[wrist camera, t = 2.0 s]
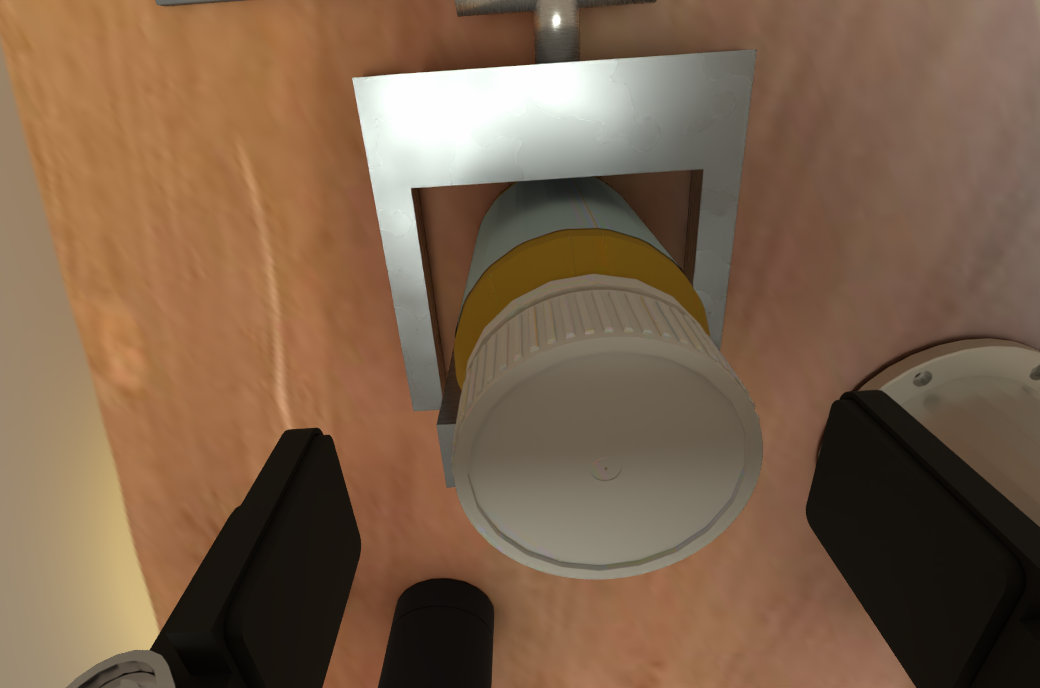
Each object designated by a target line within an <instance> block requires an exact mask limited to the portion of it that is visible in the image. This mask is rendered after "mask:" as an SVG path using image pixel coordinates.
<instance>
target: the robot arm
mask: <svg viewBox="0 0 1040 688" xmlns="http://www.w3.org/2000/svg"><path fill="white" fill-rule="evenodd" d="M806 516H807V520H808V523H809V525H810V527H811V529H812V530H813V532H814V533H815V535H816V536H817V538H818V539H819V541H820V542H821V544H822V545H823V547H824V548H825V550H826V551H827V553H828V554H829V556H830V557H831V559H832V560H833V562H834V563H835V565H836V566H837V568H838V569H839V571H840V572H841V574H842V576H843V577H844V579H845V580H846V582H847V583H848V585H849V586H850V588H851V589H852V591H853V592H854V594H855V595H856V597H857V598H858V600H859V601H860V603H861V604H862V606H863V607H864V609H865V610H866V612H867V613H868V615H869V616H870V618H871V619H872V621H873V623H874V624H875V626H876V627H877V629H878V630H879V632H880V633H881V635H882V636H883V638H884V639H885V641H886V642H887V644H888V645H889V647H890V648H891V650H892V651H893V653H894V654H895V656H896V657H897V659H898V660H899V662H900V663H901V665H902V667H903V668H904V670H905V671H906V673H907V674H908V676H909V677H910V679H911V680H912V682H913V683H914V685H915V686H916V688H1040V351H1038V350H1036V349H1034V348H1032V347H1029V346H1026V345H1023V344H1020V343H1017V342H1014V341H1008V340H1000V339H991V338H986V339H969V340H961V341H956V342H952V343H947V344H942V345H938V346H935V347H932V348H930V349H927V350H924V351H921V352H919V353H916V354H913V355H911V356H909V357H907V358H905V359H903V360H901V361H899V362H898V363H896V364H894V365H892V366H890V367H888V368H887V369H885V370H884V371H882V372H881V373H880V374H878V375H877V376H875V377H874V378H872V379H871V380H870V381H868V382H867V383H866V384H865V385H863V386H862V387H861V388H860V389H859V390H858V391H849V392H845V393H844V394H843V395H842V396H841V397H840V400H837V401H835V402H834V403H833V404H832V406H831V410H830V414H829V418H828V421H827V425H826V429H825V433H824V437H823V441H822V444H821V448H820V451H819V454H818V461H817V465H816V469H815V473H814V477H813V481H812V485H811V489H810V493H809V497H808V501H807V505H806ZM360 552H361V539H360V534H359V531H358V527H357V523H356V520H355V516H354V513H353V509H352V506H351V502H350V499H349V495H348V491H347V488H346V484H345V481H344V477H343V474H342V470H341V467H340V463H339V459H338V456H337V452H336V449H335V445H334V442H333V439H332V437H331V436H330V435H323V433H322V431H321V430H320V429H319V428H305V429H291V430H286V431H285V432H284V433H283V434H282V436H281V438H280V439H279V441H278V443H277V445H276V446H275V448H274V450H273V451H272V453H271V455H270V456H269V458H268V460H267V462H266V463H265V465H264V467H263V468H262V470H261V472H260V473H259V475H258V477H257V479H256V480H255V482H254V484H253V485H252V487H251V489H250V491H249V492H248V494H247V496H246V497H245V499H244V501H243V502H242V504H241V505H240V506H239V507H237V508H236V509H235V510H234V511H233V512H232V514H231V515H230V516H229V518H228V520H227V521H226V523H225V525H224V526H223V528H222V530H221V531H220V533H219V535H218V536H217V538H216V540H215V541H214V543H213V545H212V547H211V548H210V550H209V552H208V553H207V555H206V557H205V558H204V560H203V562H202V563H201V565H200V567H199V568H198V570H197V572H196V573H195V575H194V577H193V578H192V580H191V582H190V583H189V585H188V587H187V588H186V590H185V592H184V593H183V595H182V597H181V598H180V600H179V602H178V603H177V605H176V607H175V608H174V610H173V612H172V613H171V615H170V617H169V619H168V620H167V622H166V624H165V625H164V627H163V629H162V630H161V632H160V634H159V635H158V637H157V639H156V640H155V642H154V644H153V645H152V647H151V649H150V650H133V651H129V652H126V653H122V654H118V655H115V656H113V657H111V658H109V659H107V660H104V661H102V662H100V663H98V664H96V665H95V666H93V667H92V668H91V669H89V670H87V671H86V672H85V673H83V674H82V675H80V676H79V677H77V678H76V679H75V680H74V681H73V682H72V683H71V684H70V685H69V686H68V687H66V688H322V687H323V683H324V680H325V676H326V673H327V670H328V666H329V663H330V659H331V656H332V652H333V649H334V645H335V642H336V638H337V635H338V631H339V628H340V624H341V621H342V617H343V614H344V610H345V607H346V603H347V600H348V596H349V593H350V589H351V586H352V582H353V579H354V575H355V572H356V568H357V565H358V561H359V558H360Z"/></svg>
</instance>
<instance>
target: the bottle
mask: <svg viewBox="0 0 1040 688" xmlns="http://www.w3.org/2000/svg"><path fill="white" fill-rule="evenodd" d="M454 357H455V368H456V377H457V381H458V384H459V386H460V389H461V391H462V393H461V397H460V403H459V409H458V415H457V421H456V426H455V432H454V438H453V444H452V448H453V450H452V456H451V461H452V463H453V467H452V474H453V476H454V481H455V487H456V491H457V494H458V498H459V500H460V503H461V505H462V508H463V510H464V512H465V513H466V515H467V517H468V519H469V520H470V522H471V523H472V524H473V526H474V527H475V528H476V530H477V531H478V532H479V533H480V534H481V535H482V536H483V537H484V538H485V539H486V540H487V541H488V542H489V543H490V544H491V545H493V546H494V547H495V548H496V549H498V550H499V551H501V552H502V553H503V554H505V555H507V556H508V557H510V558H512V559H513V560H515V561H517V562H519V563H521V564H524V565H526V566H528V567H531V568H533V569H536V570H539V571H542V572H546V573H549V574H553V575H558V576H563V577H569V578H578V579H614V578H623V577H629V576H635V575H639V574H644V573H648V572H651V571H654V570H658V569H661V568H663V567H666V566H669V565H671V564H674V563H676V562H678V561H680V560H682V559H684V558H686V557H688V556H690V555H692V554H694V553H695V552H697V551H699V550H700V549H702V548H703V547H705V546H706V545H708V544H709V543H710V542H712V541H713V540H714V539H715V538H717V537H718V536H719V535H720V534H721V533H722V532H723V531H724V530H725V529H726V528H727V527H728V526H729V525H730V524H731V523H732V522H733V521H734V520H735V519H736V517H737V516H738V515H739V514H740V512H741V511H742V510H743V508H744V507H745V505H746V503H747V502H748V500H749V498H750V497H751V495H752V492H753V490H754V488H755V486H756V483H757V480H758V477H759V474H760V470H761V464H762V457H763V441H762V433H761V428H760V424H759V416H758V414H757V413H756V411H755V410H754V409H755V404H754V402H753V400H752V399H751V398H750V396H749V392H748V390H747V389H746V387H745V386H744V384H743V383H742V382H741V380H740V379H739V377H738V376H737V375H736V373H735V372H734V370H733V369H732V368H731V366H730V365H729V363H728V362H727V361H726V359H725V358H724V356H723V355H722V354H721V352H720V351H719V349H718V348H717V347H716V345H715V344H714V342H713V341H712V340H711V338H710V332H709V327H708V322H707V317H706V313H705V308H704V306H703V303H702V301H701V299H700V297H699V296H698V294H697V293H696V291H695V289H694V288H693V286H692V285H691V283H690V282H689V280H688V279H687V277H686V276H685V274H684V273H683V271H682V270H681V268H680V267H679V266H678V264H677V263H676V262H675V261H674V260H673V258H672V257H671V256H670V255H669V253H668V252H667V251H666V250H665V249H664V247H663V246H662V245H661V244H660V242H659V241H658V240H657V239H656V238H655V236H654V235H653V234H652V233H651V231H650V230H649V229H648V228H647V227H646V225H645V224H644V223H643V222H642V220H641V219H640V218H639V217H638V216H637V214H636V213H635V212H634V211H633V209H632V208H631V207H630V206H629V205H628V203H627V202H626V201H625V200H624V199H623V197H622V196H621V195H620V194H619V193H618V192H616V191H615V190H614V189H613V188H611V187H610V186H609V185H607V184H606V183H605V182H603V181H602V180H601V179H599V178H597V177H595V176H590V177H574V178H559V179H544V180H528V181H515V182H514V183H513V184H511V185H510V186H509V187H508V188H506V189H505V190H504V191H503V192H501V193H500V194H499V195H498V196H497V198H496V199H495V200H494V202H493V203H492V205H491V206H490V208H489V209H488V211H487V212H486V214H485V216H484V218H483V220H482V223H481V225H480V229H479V233H478V237H477V240H476V244H475V249H474V253H473V257H472V262H471V266H470V271H469V275H468V279H467V284H466V288H465V292H464V297H463V301H462V306H461V310H460V314H459V319H458V323H457V327H456V333H455V344H454Z"/></svg>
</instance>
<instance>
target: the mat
mask: <svg viewBox="0 0 1040 688" xmlns="http://www.w3.org/2000/svg"><path fill="white" fill-rule="evenodd" d="M155 1H156V4H157V5H161V6H175V5H188V4H202V3H216V2H229V1H243V0H155Z"/></svg>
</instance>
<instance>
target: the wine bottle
mask: <svg viewBox="0 0 1040 688" xmlns="http://www.w3.org/2000/svg"><path fill="white" fill-rule="evenodd" d="M493 632H494V611H493V606H492V604H491V602H490V601H489V599H488V597H487V596H486V595H485V594H483V593H482V592H481V591H480V590H479V589H477V588H475V587H473V586H471V585H469V584H466V583H464V582H460V581H454V580H449V579H442V580H430V581H426V582H422V583H418V584H416V585H415V586H413V587H411V588H409V589H408V590H406V591H405V592H404V593H403V595H402V596H401V597H400V598H399V599H398V602H397V605H396V609H395V613H394V618H393V622H392V627H391V631H390V636H389V640H388V645H387V649H386V654H385V658H384V663H383V667H382V672H381V676H380V681H379V685H378V688H491V683H492V658H493Z"/></svg>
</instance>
